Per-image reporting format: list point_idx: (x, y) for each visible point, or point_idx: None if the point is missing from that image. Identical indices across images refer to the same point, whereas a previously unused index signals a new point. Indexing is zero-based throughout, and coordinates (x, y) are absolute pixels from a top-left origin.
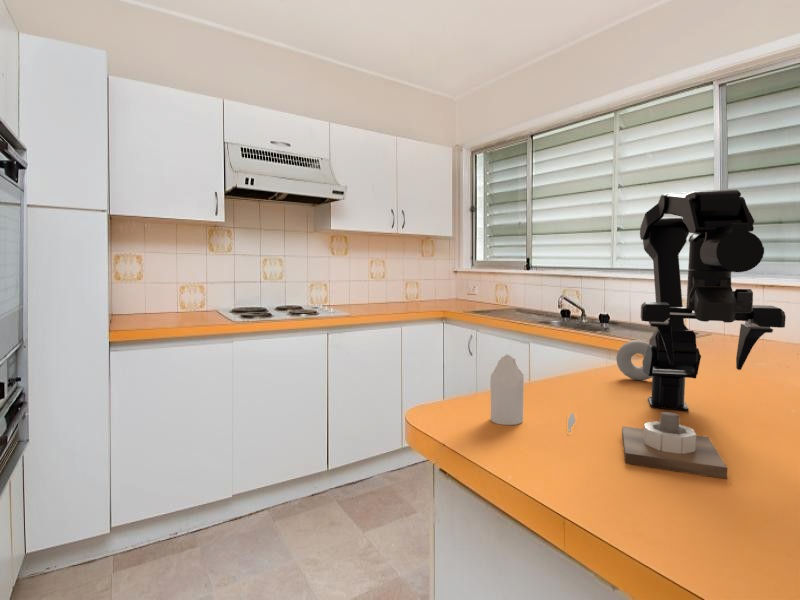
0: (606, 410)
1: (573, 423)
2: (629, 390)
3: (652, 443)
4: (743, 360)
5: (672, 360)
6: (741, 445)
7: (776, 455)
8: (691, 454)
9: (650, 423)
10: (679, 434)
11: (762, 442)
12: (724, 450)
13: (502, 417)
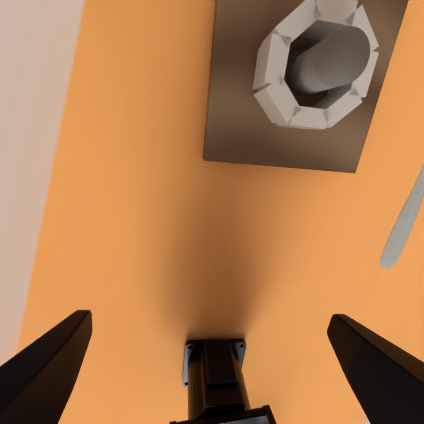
0: (325, 298)
1: (410, 203)
2: None
3: None
4: (42, 341)
5: (350, 323)
6: (138, 186)
7: (85, 149)
8: (274, 17)
9: (350, 102)
10: (314, 18)
11: (95, 218)
12: (177, 145)
13: None
